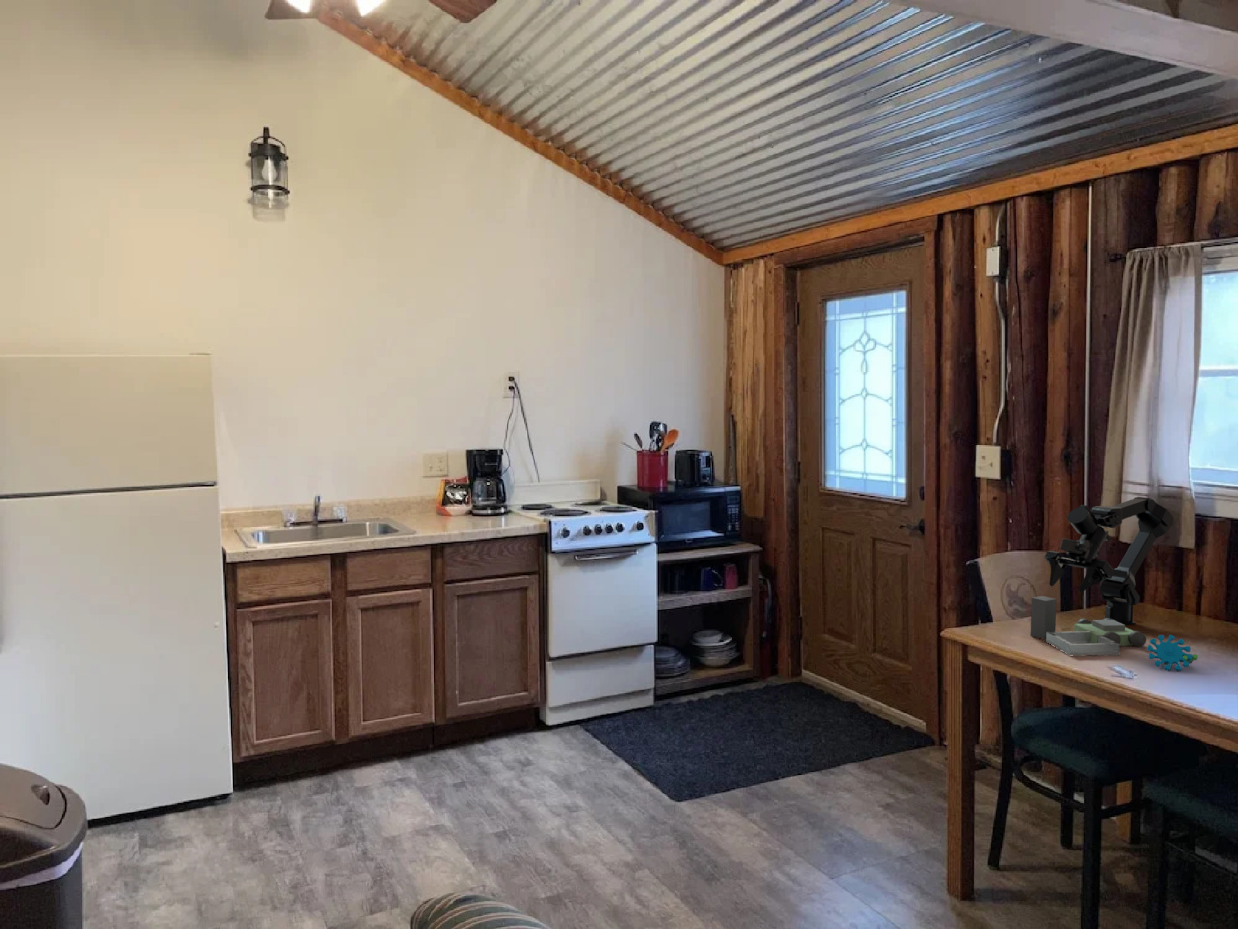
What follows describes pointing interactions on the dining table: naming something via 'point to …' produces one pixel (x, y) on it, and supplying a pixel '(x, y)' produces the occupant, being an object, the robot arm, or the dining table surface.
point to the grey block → (1043, 616)
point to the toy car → (1111, 631)
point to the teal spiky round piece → (1170, 653)
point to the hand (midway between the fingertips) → (1065, 588)
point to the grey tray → (1082, 643)
